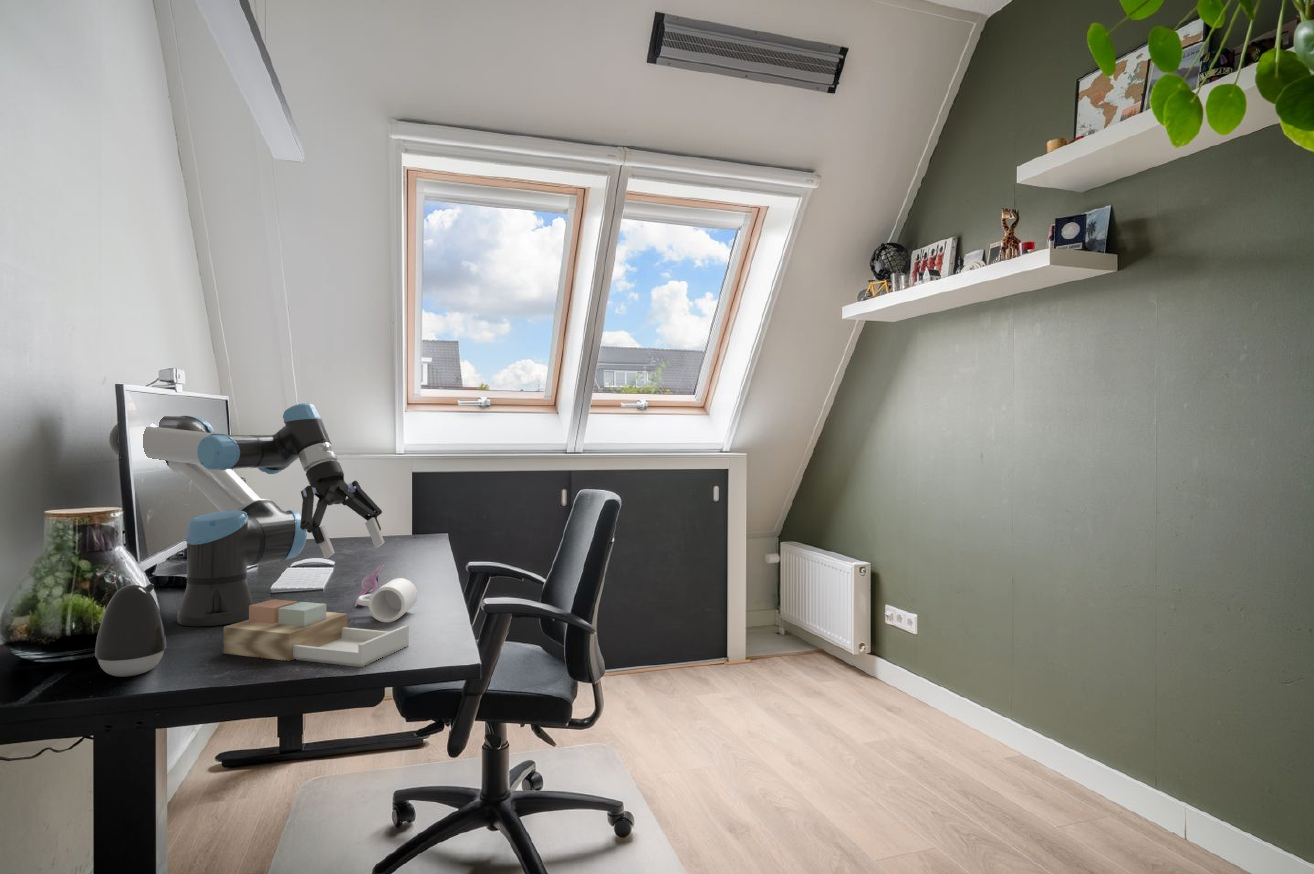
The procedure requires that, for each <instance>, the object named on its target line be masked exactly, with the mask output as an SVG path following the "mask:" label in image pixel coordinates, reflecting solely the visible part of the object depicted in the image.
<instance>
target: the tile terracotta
mask: <svg viewBox="0 0 1314 874" xmlns="http://www.w3.org/2000/svg"><path fill="white" fill-rule="evenodd" d="M295 603H298V601H297V600H286V599H275V598H274V599H269V600H265V601H262V602H258V603H255V604H254V605H250V606H249V619H248V620H249V621H253V622H263V623H273V624H274V623H278V608H282V607H285V606H289V605H292V604H295Z"/></svg>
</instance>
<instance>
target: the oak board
mask: <svg viewBox="0 0 1314 874" xmlns="http://www.w3.org/2000/svg"><path fill="white" fill-rule="evenodd" d="M348 615H349V614H348V613H343V612H333V611H331V612H330V611H326V619H325V620H322V621H319V622H316V623H313V624H310V625H307V626H293V625H283V624H278V623H274V624H273V623H263V622H253V621H249V619H247V620H244V621H240V622H235V623H231V624H230V625H229V624H228V625H226V626H224V627H223V654H224V655H225V654H226V655H232V656H233V655H235V656H244V657H250V658H251V657H252V658H253V657H254V658H259V657H260V658H261V659H269V660H270V659H271V660H277V661H286V660H287V661H288V662H289V661H293V660H294V659H293V646H294V645H304V646H313V647H320V646H322V645H325V644H327V643H330V642H333V641H335V640H338V639H341V638H342V628H344V627H347V628H349V627H348V624H349V623H348V621H349V620H348V617H349V616H348ZM260 658H259V659H260Z"/></svg>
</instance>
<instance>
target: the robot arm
mask: <svg viewBox="0 0 1314 874" xmlns="http://www.w3.org/2000/svg"><path fill="white" fill-rule="evenodd" d="M163 416H164V417H163V418H162V419H161V420H160V422H159V427H157V426H156V425H155V424H153V423H152V424H151V425H150V426H148V427H146V429H145V431H144V434H143V448H144V452H145V454H146V456H147V457H148V458H152V459H159V460H165V461H166V463H167V464H166V463H165V464H166V465H167V467H169V469H170V470H171V471H173V472H174V473H176V474H180V475H185V476H186V477H187V478H188V479H189V480H190V481H191V482H192V483H193V484H194V486H196V488H197V489H198V490H199V491H200V492H201V493H203V495H205V497H206V498H207V499H208V500H209V501H210V503H212V504H213V506H215V508H217V510H218V511H216V512H215V511H214V512H211V513H206V514H202V515H198V516H197V517H194V518H192V519H191V521H189V523H188V524H187V531H186V532H187V533H186V537H185V543H186V588H185V591H184V594H183V597H182V601H181V604H180V608H178V611H177V615H176V616H177V620H176V621H177V624H179V625H182V626H186V627H187V626H188V627H215V626H222V625H229V624H230V625H231V624H235V623H239V622H242V621H246V620H249V606H250V605H254V604H256V603H255V601H253V596H252V592H251V589H250V587H249V583H248V567H250V566H251V567H252V566H256V565H262V564H268V563H274V562H276V563H277V562H284V561H286V560H290V559H293V558H296V557H297V556H298V555H299V554H300V553H302V551H303V550H304V547H305V545H306V542H307V537H308V533H309V534H310V533H311V534H312V536H313V538H314V542H315V543H316V544H317V545H319V547H320V550H321V552H322V555H323V557H324V559H328V558H330V557H331V556H333V555H334V554H335V553H336V552H335V550H334V546H333V544H332V542H331V540H330V537H329V535H328V531H327V529H326V526H325V525H321V524H322V521H323V518H324V516H325V513H326V510H327V507H328V506H332V505H343V506H347V507H348V508H349V509H350V510H352V511H354V512H355V513H356V514H358V515H359V516H360V517H362V518H363V519H364V520H366V521H365V522H364V524H365V526H366V529H367V531H368V535H369V536H370V538H371V542H372V543H373V546H374V548H375V549H377V548H379V547H381V546H382V545H383V544H385V543H386V542H385V539H384V536H383V535H382V532H381V530H382V527H381V525H380V522H379V520H378V517H379V516H380V515H382V513H383V510H382V509H381V508H380V507H379V506H378V505H377V504H376V502H375V501H374V500H373V499H372V498H371V497H370V496H369V495H368V494H367V493H366V492H365V491H364V489H362V488H361V486H360V483H359V482H358V481H357V480H353V481H352V482H350V483H347V482H346V481H345V473H344V471H343V468H342V466H341V463H340V462H339V461H338V457H337V454H336V452H335V449H334V447H333V445H332V442H331V440H330V438H329V434H328V433H327V430H326V427H325V424H324V421H323V418H322V417H321V415H320V412H319V411H318V410H317V407H316V406H315V405H314V404H312V403H297V404H294V405H292V406H289V407H288V408H287V409H285V410H284V411H283V415H282V418H283V423H284V424H285V425H284V426H283V427H281V429H279V430H278V431H276V433H274V434H260V435H259V434H251V435H250V434H247V435H246V434H244V435H243V434H241V435H240V434H225V433H216V432H215V429H214V427H213V426H212V425H211V424H210V423H209V422H208V421H207V420H205V419H204V418H202V417H197V416H190V415H181V416H174V415H173V416H171V415H170V416H169V415H168V416H167V415H163ZM118 423H119V422H117V423H116V424H115V425H114V426H113V428H112V429H111V431H110V434H109V437H108V438H109V439H108V441H109V446H110V449H111V450H112V452H113V453H114V454H115V455H116V456H118V457H119V443H118ZM298 459H299V461H300V464H301V467H302V469H303V471H304V472H305V476H306V479H307V482H308V484H309V485H306V487H304V488H303V489H302V490H301V491H300V494H301V495H300V496H301V498H302V503H301V513H300V512H298V511H295V510H291V509H290V510H286V511H285V510H284V509H282V508H281V507H280V506H279V505H278V504H276V502H275V501H273V500H271V499H268V498H261V497H260V496H259V495H258V494H257V493H256V492H255V490H253V489H252V488H251V487H250V486H249V485H248V484H247V483H246V482H245V481H244V479H242V478H241V476H240V475H239V474H237V472H235V469H238V470H239V469H254V468H255V469H258V470H259V471H261V472H262V473H265V474H268V475H275V474H279V473H280V472H282V471H284V470H285V469H287V468H289V467H290V466H291V464H293V463H294V462H295V461H296V460H298ZM315 497H317V498H318V500H317V503H316V508H315V510H314V502H315ZM313 512H314V513H313Z"/></svg>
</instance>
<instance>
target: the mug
mask: <svg viewBox="0 0 1314 874" xmlns="http://www.w3.org/2000/svg"><path fill="white" fill-rule="evenodd" d="M356 599H357V598H356ZM417 599H418V590H417V588H416V585H414V583H413V582H412V581H410V580H409V579H407V578H403V577H401V578H400V577H399V578H397V577H396V578H393V579H391V580H390V581H388V582H387V583H385V584H383V585H382V586H380V587H379V588H378V589H377V590H375V591H373V592H371V593H368V594H365V595H362V596H360V597H359V598H358V599H357V603H358V604H357V605H360V606H363V607H368V611H369V612H370V615H371V616H372V617H373V618H374V619H375V620H377V621H378V622H381V623H393V622H395V621H397V620H398V619H400V618H401V617H402V616H403V615H405V614H406V613H407V612H409V611H410V610H411V609H412V608H413V607H414V606H415V604H416V602H417Z"/></svg>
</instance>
